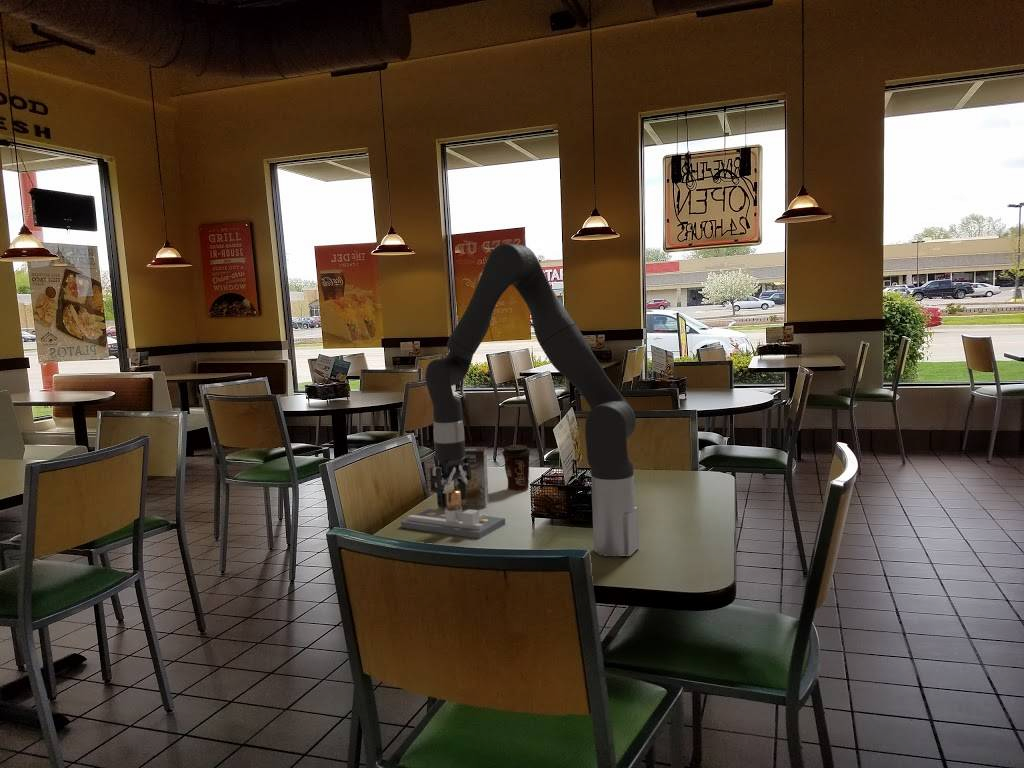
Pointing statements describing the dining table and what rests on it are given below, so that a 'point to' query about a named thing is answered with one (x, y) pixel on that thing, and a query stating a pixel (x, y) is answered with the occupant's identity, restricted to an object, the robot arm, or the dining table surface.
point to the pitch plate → (467, 526)
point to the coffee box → (476, 479)
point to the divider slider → (453, 506)
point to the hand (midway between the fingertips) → (452, 503)
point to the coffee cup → (517, 467)
